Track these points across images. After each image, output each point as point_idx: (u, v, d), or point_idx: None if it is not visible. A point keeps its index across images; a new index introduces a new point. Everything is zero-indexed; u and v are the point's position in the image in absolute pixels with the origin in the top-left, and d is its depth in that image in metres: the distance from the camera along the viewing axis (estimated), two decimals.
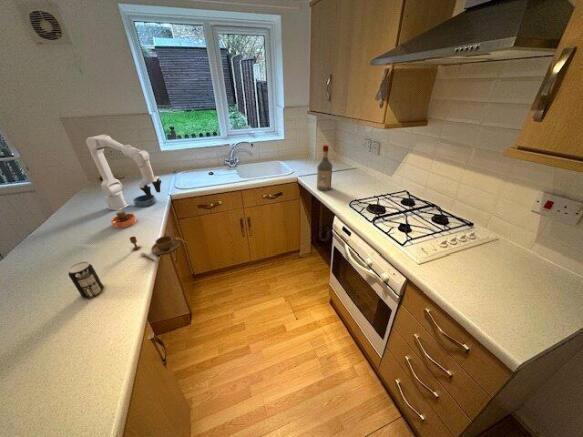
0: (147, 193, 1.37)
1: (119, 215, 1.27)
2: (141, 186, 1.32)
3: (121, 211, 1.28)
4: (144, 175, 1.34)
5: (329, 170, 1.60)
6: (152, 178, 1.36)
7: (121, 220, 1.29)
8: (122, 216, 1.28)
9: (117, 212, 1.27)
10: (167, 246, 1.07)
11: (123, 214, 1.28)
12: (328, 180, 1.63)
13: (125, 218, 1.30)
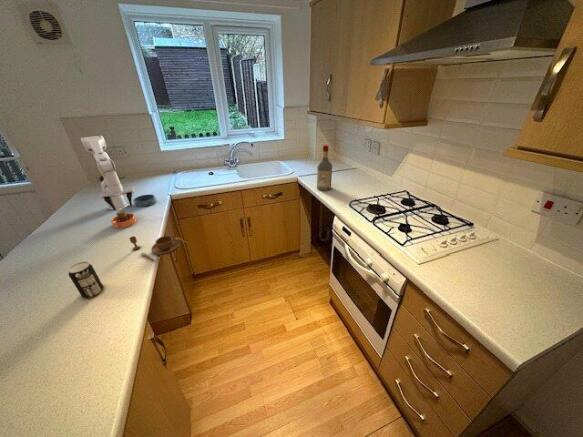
0: None
1: (119, 215, 1.27)
2: (101, 197, 1.22)
3: (121, 211, 1.28)
4: (107, 186, 1.22)
5: (329, 170, 1.60)
6: (114, 191, 1.22)
7: (121, 220, 1.29)
8: (122, 216, 1.28)
9: (117, 212, 1.27)
10: (167, 246, 1.07)
11: (123, 214, 1.28)
12: (328, 180, 1.63)
13: (125, 218, 1.30)
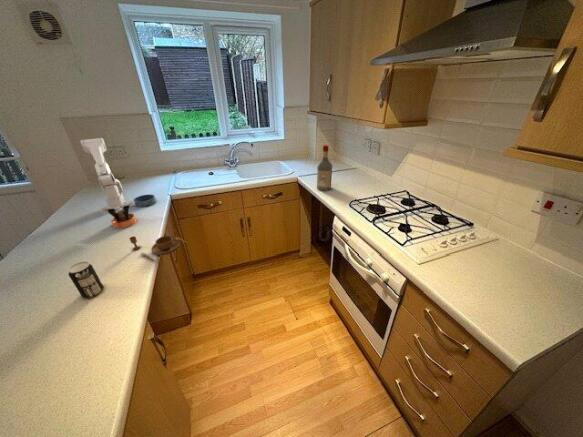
0: None
1: (119, 215, 1.27)
2: None
3: (121, 211, 1.28)
4: (108, 199, 1.23)
5: (329, 170, 1.60)
6: (114, 204, 1.23)
7: (121, 220, 1.29)
8: (122, 216, 1.28)
9: (117, 212, 1.28)
10: (167, 246, 1.07)
11: (123, 214, 1.28)
12: (328, 180, 1.63)
13: (125, 218, 1.30)
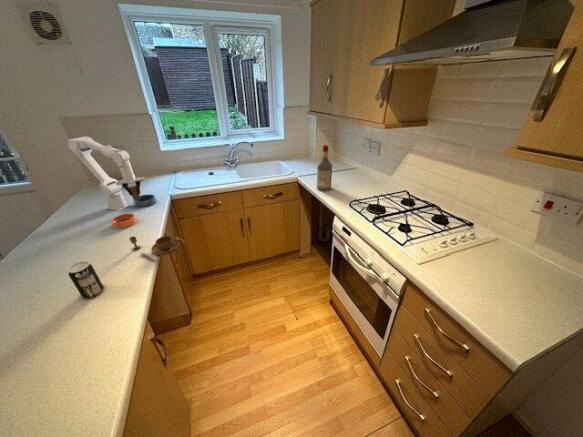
0: None
1: (132, 189, 1.41)
2: (116, 184, 1.37)
3: (133, 186, 1.42)
4: (122, 174, 1.37)
5: (329, 170, 1.60)
6: (128, 179, 1.37)
7: (133, 194, 1.42)
8: (134, 191, 1.42)
9: (130, 187, 1.41)
10: (167, 246, 1.07)
11: (135, 189, 1.42)
12: (328, 180, 1.63)
13: (137, 192, 1.43)
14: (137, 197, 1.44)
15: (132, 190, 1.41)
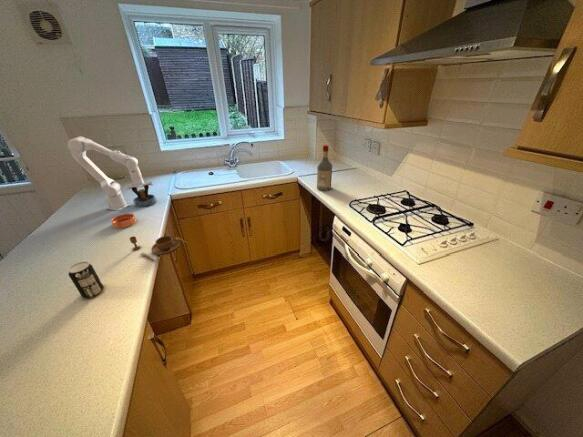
0: None
1: (140, 193, 1.50)
2: (126, 188, 1.47)
3: (142, 189, 1.51)
4: None
5: (329, 170, 1.60)
6: (137, 183, 1.46)
7: (142, 197, 1.52)
8: (143, 194, 1.51)
9: (139, 190, 1.50)
10: (167, 246, 1.07)
11: (144, 192, 1.51)
12: (328, 180, 1.63)
13: (145, 196, 1.53)
14: (145, 200, 1.53)
15: (141, 193, 1.50)
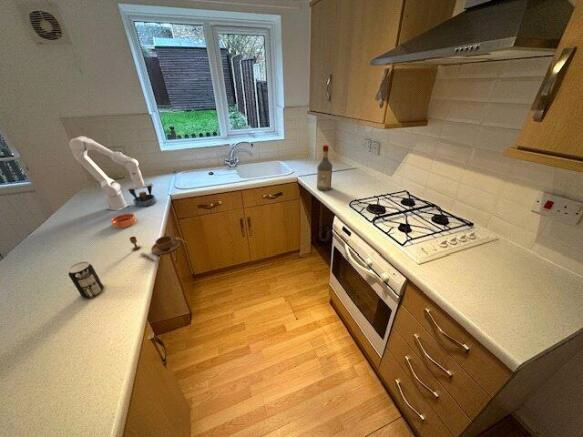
0: (135, 196, 1.51)
1: (141, 195, 1.51)
2: None
3: (143, 192, 1.52)
4: (132, 180, 1.47)
5: (329, 170, 1.60)
6: (138, 185, 1.47)
7: (143, 199, 1.52)
8: (144, 196, 1.52)
9: (140, 192, 1.51)
10: (167, 246, 1.07)
11: (144, 194, 1.52)
12: (328, 180, 1.63)
13: (146, 198, 1.53)
14: None
15: (142, 196, 1.51)
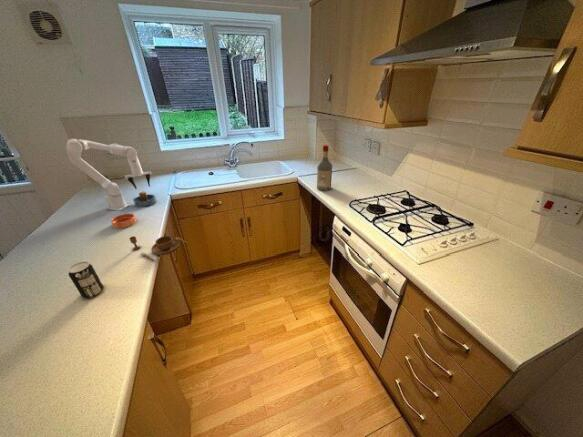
0: None
1: (141, 195, 1.51)
2: (125, 177, 1.49)
3: (143, 192, 1.52)
4: None
5: (329, 170, 1.60)
6: (136, 173, 1.49)
7: (143, 199, 1.52)
8: (144, 196, 1.52)
9: (140, 192, 1.51)
10: (167, 246, 1.07)
11: (144, 194, 1.52)
12: (328, 180, 1.63)
13: (146, 198, 1.53)
14: None
15: (142, 196, 1.51)
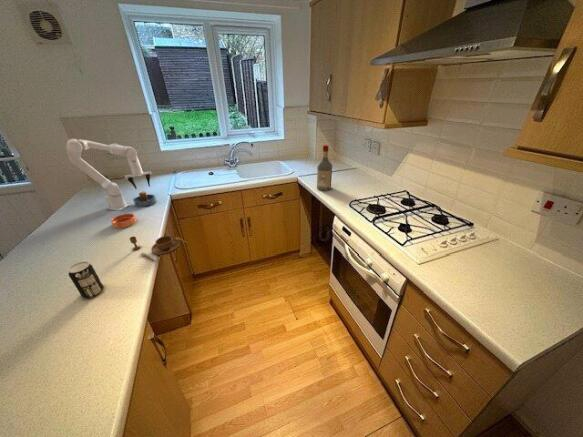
0: None
1: (141, 195, 1.51)
2: (125, 177, 1.49)
3: (143, 192, 1.52)
4: None
5: (329, 170, 1.60)
6: (136, 173, 1.49)
7: (143, 199, 1.52)
8: (144, 196, 1.52)
9: (140, 192, 1.51)
10: (167, 246, 1.07)
11: (144, 194, 1.52)
12: (328, 180, 1.63)
13: (146, 198, 1.53)
14: None
15: (142, 196, 1.51)
